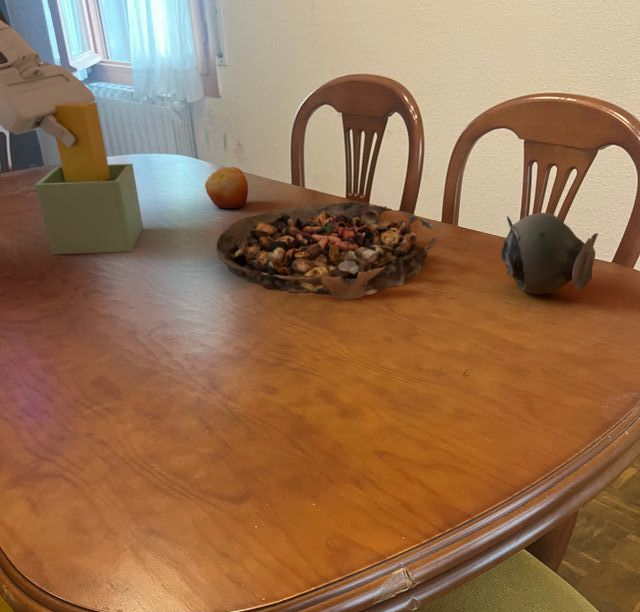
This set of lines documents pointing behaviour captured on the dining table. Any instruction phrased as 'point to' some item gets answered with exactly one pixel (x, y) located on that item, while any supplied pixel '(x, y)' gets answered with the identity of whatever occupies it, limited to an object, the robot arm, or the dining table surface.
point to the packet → (82, 143)
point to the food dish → (324, 249)
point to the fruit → (227, 188)
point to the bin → (90, 212)
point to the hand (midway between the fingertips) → (83, 140)
